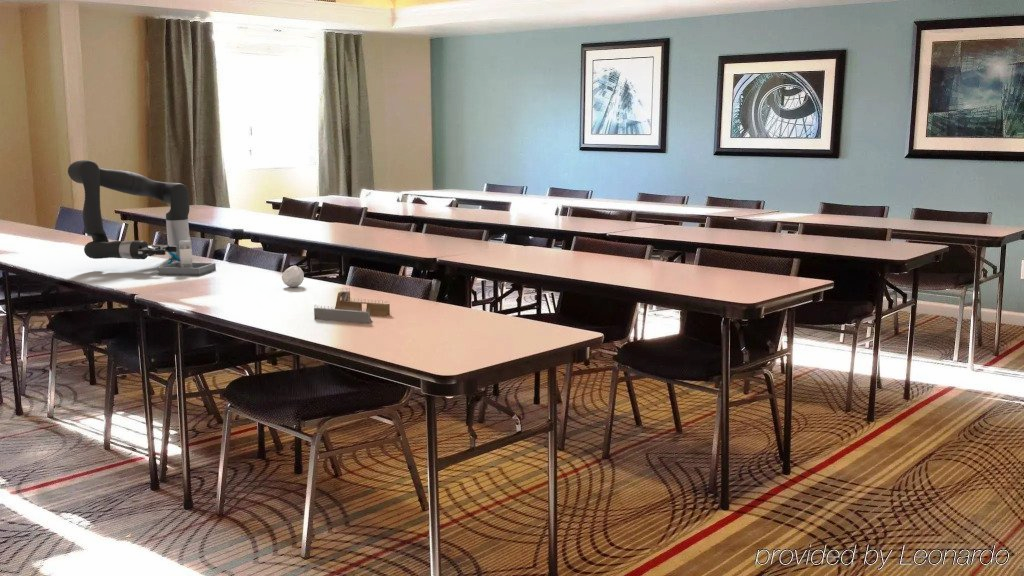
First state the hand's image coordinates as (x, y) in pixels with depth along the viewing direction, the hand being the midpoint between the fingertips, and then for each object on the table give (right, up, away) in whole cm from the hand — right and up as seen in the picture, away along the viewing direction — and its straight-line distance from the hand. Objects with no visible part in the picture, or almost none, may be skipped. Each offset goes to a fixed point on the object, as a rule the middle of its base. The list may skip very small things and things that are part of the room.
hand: (170, 250), depth 378 cm
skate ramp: (+90, -24, -80) cm, 123 cm away
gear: (-5, -6, +20) cm, 21 cm away
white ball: (+57, -15, -33) cm, 68 cm away
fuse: (+7, -8, 0) cm, 10 cm away
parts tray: (+7, -9, 0) cm, 11 cm away
